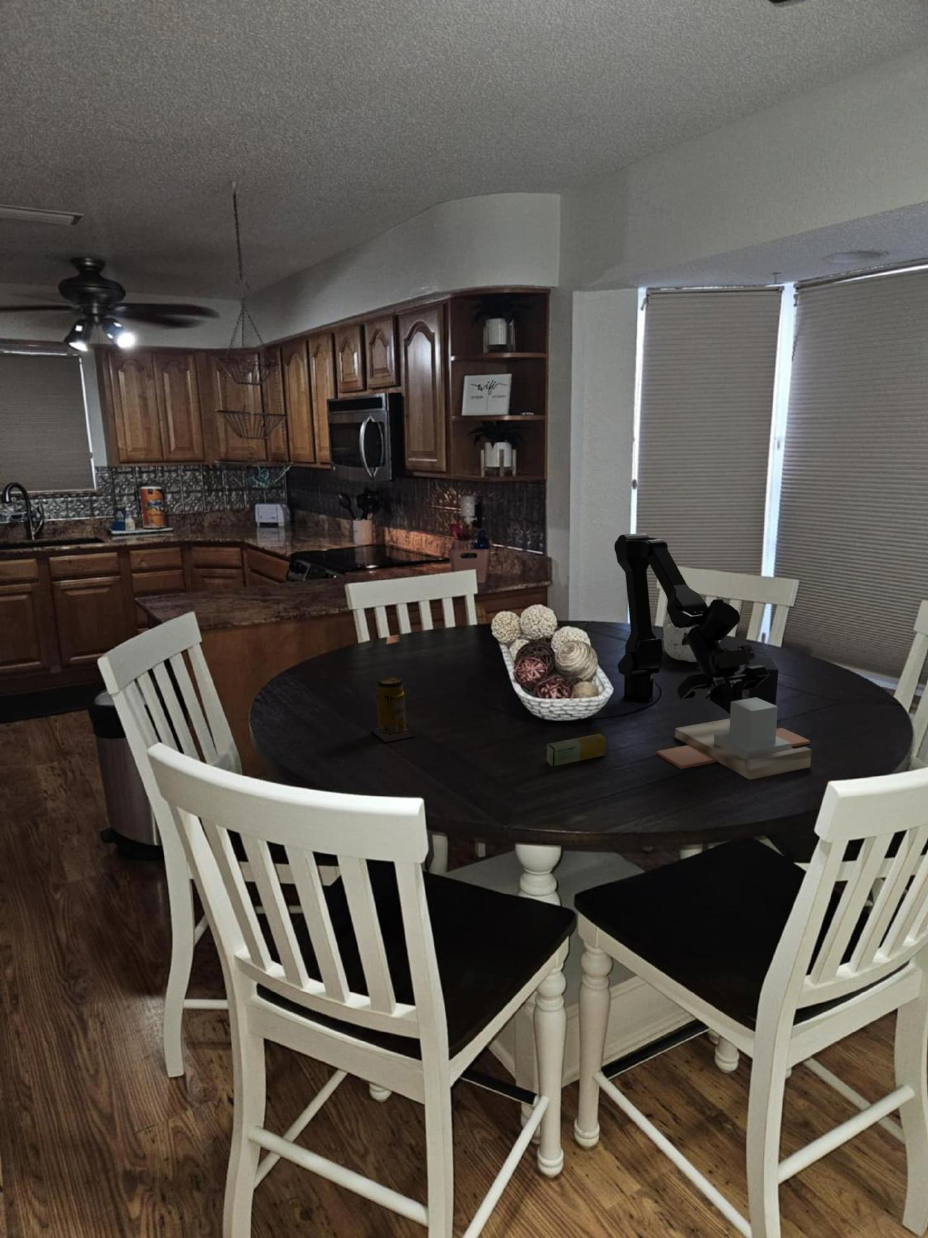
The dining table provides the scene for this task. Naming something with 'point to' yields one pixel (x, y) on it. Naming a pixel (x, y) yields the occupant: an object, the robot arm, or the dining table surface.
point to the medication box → (576, 749)
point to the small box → (769, 685)
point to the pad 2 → (791, 737)
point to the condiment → (391, 706)
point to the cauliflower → (677, 641)
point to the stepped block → (752, 730)
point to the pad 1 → (686, 756)
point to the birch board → (750, 767)
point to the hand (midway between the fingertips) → (741, 720)
